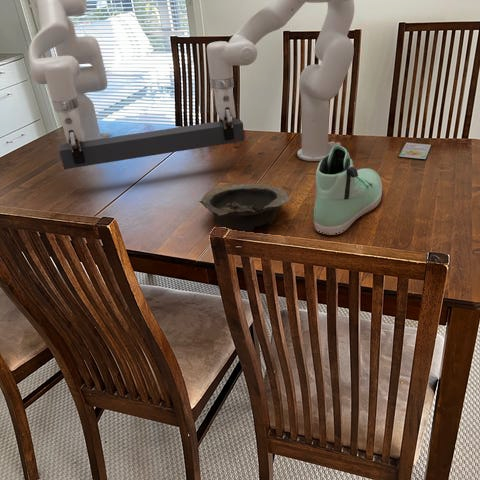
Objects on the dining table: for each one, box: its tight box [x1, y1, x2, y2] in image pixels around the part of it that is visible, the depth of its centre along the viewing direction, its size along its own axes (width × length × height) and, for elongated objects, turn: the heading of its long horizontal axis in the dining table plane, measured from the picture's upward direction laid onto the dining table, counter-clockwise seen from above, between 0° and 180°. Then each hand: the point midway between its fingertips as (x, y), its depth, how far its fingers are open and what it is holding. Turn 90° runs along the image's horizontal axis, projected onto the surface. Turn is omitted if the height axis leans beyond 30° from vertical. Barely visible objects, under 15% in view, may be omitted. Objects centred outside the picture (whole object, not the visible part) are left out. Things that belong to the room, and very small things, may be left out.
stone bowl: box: [198, 183, 290, 233], centre depth 135 cm, size 25×25×9 cm
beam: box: [58, 117, 245, 170], centre depth 159 cm, size 60×6×6 cm, turn 104°
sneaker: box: [313, 145, 383, 236], centre depth 133 cm, size 14×35×20 cm, turn 152°
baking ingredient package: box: [398, 142, 432, 160], centre depth 172 cm, size 9×1×15 cm
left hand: (80, 159), depth 156 cm, fingers closed on beam, 5 cm apart
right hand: (227, 136), depth 164 cm, fingers closed on beam, 5 cm apart
